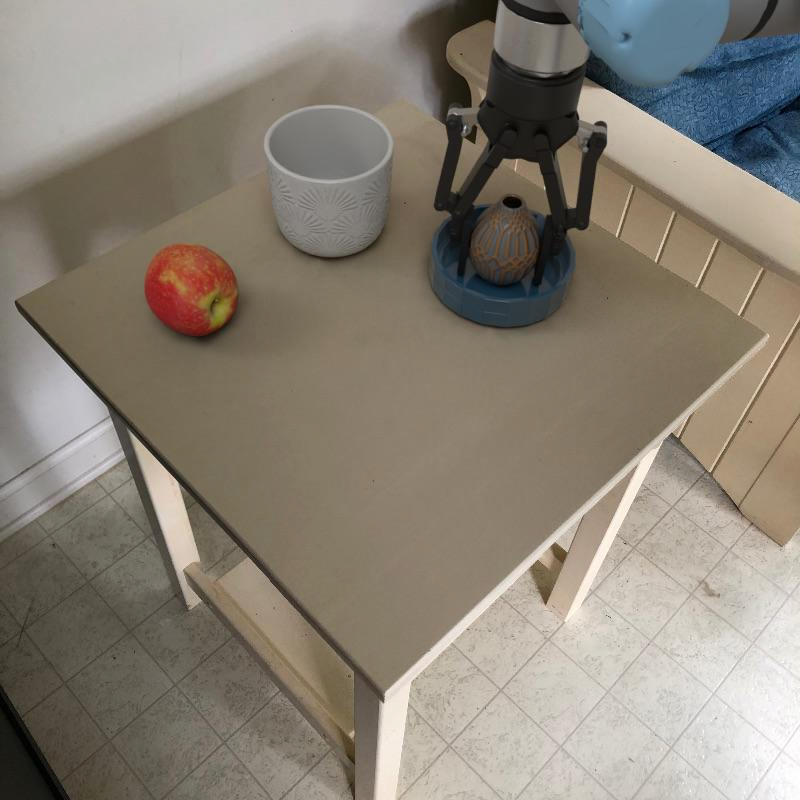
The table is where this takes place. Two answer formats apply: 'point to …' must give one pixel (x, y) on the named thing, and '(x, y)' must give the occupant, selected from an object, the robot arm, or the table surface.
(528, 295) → the bowl
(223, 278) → the apple
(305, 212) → the planter
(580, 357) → the table surface
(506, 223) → the vase
